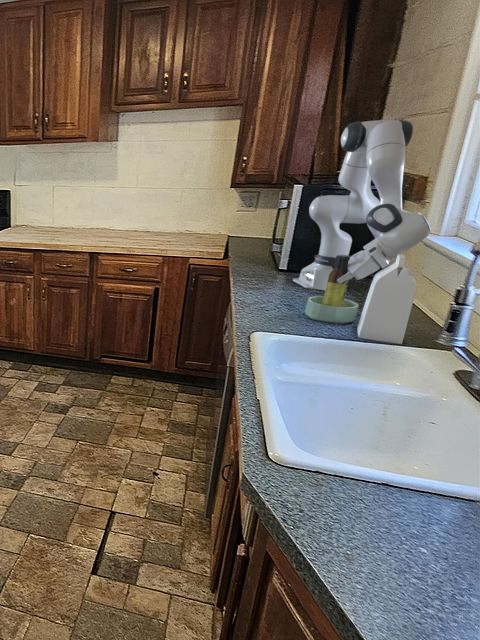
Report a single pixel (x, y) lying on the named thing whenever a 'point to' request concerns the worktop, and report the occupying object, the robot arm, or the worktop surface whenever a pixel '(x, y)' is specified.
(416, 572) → the worktop surface
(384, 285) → the milk
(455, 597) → the worktop surface
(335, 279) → the sauce bottle
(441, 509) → the worktop surface
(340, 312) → the bowl
